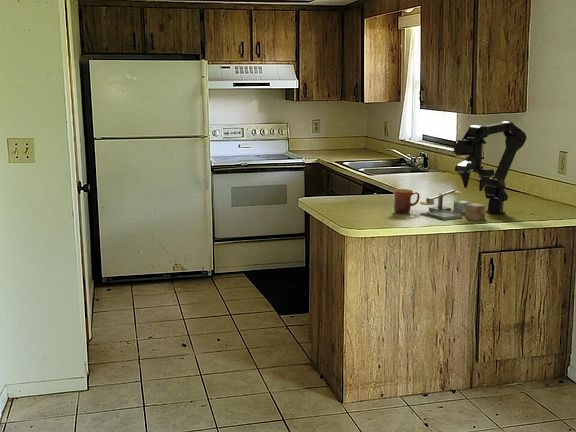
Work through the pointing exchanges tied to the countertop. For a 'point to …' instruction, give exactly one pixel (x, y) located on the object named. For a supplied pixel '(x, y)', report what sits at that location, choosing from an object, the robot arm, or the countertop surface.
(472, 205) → the walnut block
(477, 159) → the robot arm
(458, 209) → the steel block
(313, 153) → the countertop surface
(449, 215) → the slate dish
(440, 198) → the balance
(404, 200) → the mug
